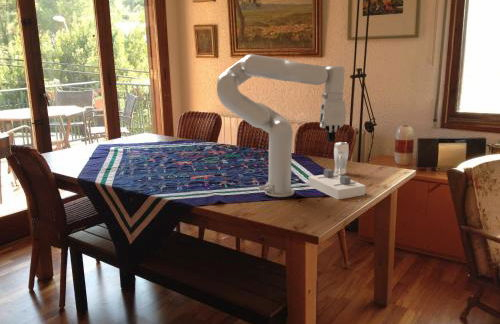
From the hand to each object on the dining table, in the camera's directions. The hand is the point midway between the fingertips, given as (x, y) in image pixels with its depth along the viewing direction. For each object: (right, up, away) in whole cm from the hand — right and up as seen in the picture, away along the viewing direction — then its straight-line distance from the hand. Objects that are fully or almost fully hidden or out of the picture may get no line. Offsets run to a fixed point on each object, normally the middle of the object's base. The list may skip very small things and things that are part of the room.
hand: (330, 141), depth 189 cm
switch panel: (+4, -21, +9) cm, 23 cm away
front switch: (+7, -18, +4) cm, 19 cm away
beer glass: (+11, -14, +35) cm, 39 cm away
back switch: (+2, -15, +15) cm, 21 cm away
